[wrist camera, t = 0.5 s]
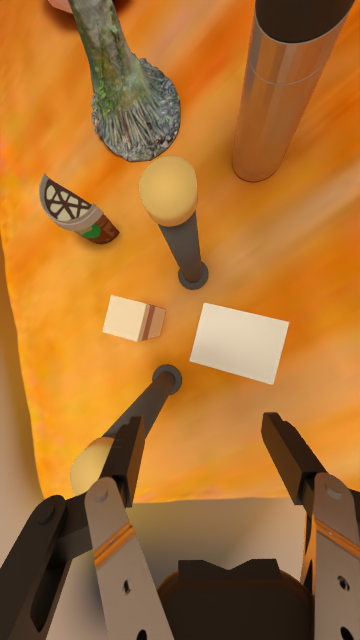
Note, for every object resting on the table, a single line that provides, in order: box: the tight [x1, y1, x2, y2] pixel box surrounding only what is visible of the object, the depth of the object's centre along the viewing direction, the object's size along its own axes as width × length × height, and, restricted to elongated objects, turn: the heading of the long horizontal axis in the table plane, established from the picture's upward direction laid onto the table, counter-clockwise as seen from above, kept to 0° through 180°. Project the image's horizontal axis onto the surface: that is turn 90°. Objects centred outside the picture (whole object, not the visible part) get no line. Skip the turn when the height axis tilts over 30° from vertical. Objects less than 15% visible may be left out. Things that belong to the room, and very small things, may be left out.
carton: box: [102, 295, 166, 342], centre depth 31 cm, size 6×6×12 cm
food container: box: [39, 174, 119, 244], centre depth 34 cm, size 12×6×10 cm, turn 56°
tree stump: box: [68, 0, 180, 162], centre depth 32 cm, size 18×20×18 cm
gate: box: [70, 156, 208, 496], centre depth 24 cm, size 28×6×24 cm, turn 166°
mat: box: [190, 302, 289, 385], centre depth 34 cm, size 12×16×1 cm
